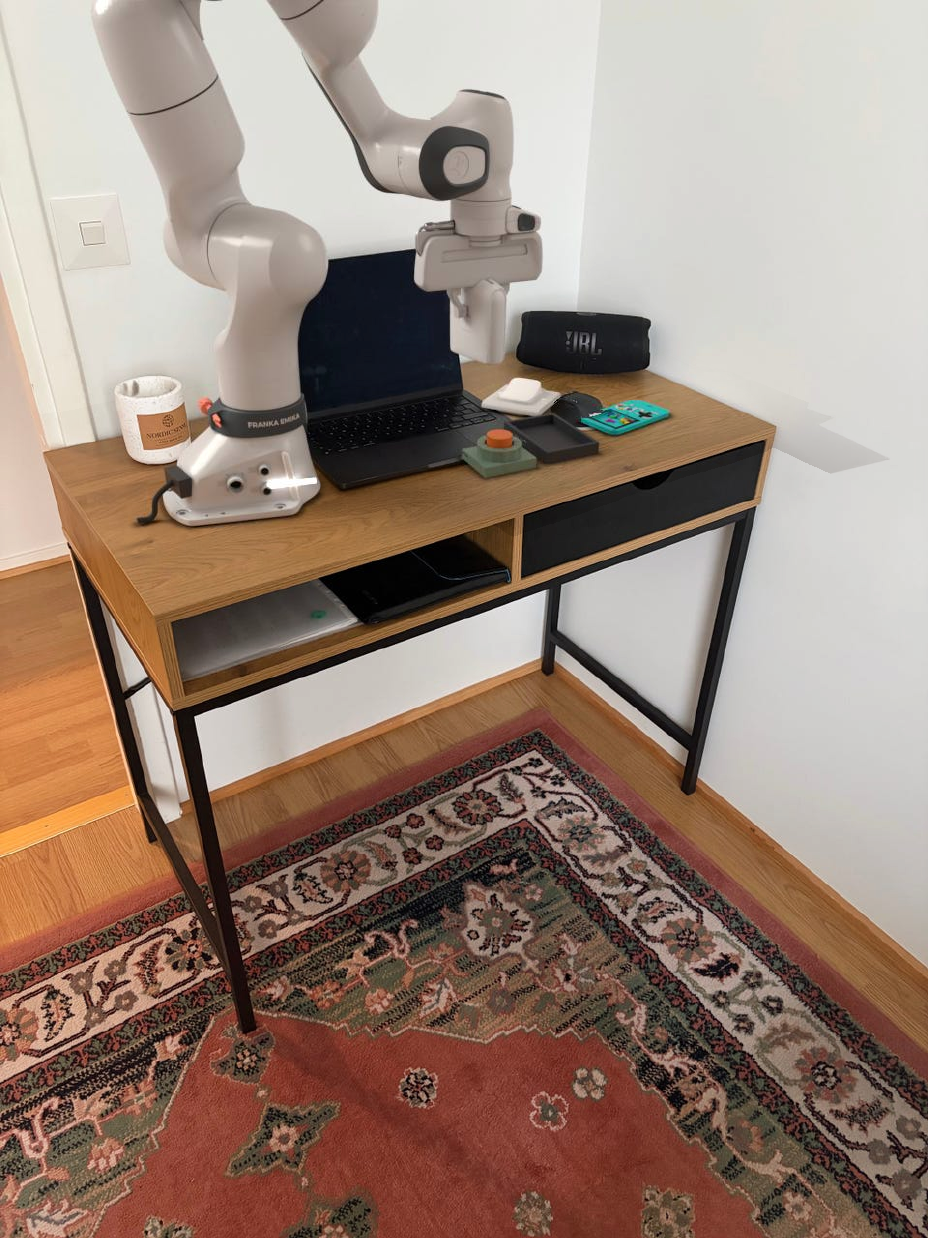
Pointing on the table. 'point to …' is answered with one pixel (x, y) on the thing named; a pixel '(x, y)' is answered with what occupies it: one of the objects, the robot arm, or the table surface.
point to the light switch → (521, 398)
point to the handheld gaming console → (626, 417)
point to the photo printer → (480, 323)
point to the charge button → (499, 439)
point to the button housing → (498, 458)
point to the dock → (552, 438)
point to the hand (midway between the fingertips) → (478, 314)
